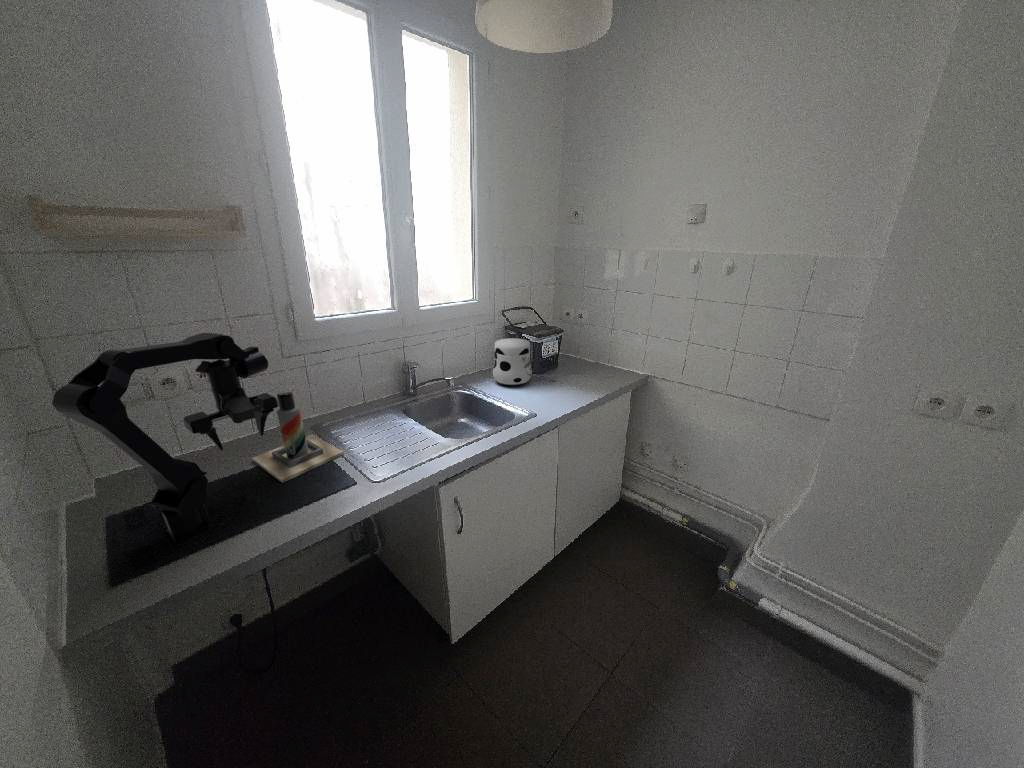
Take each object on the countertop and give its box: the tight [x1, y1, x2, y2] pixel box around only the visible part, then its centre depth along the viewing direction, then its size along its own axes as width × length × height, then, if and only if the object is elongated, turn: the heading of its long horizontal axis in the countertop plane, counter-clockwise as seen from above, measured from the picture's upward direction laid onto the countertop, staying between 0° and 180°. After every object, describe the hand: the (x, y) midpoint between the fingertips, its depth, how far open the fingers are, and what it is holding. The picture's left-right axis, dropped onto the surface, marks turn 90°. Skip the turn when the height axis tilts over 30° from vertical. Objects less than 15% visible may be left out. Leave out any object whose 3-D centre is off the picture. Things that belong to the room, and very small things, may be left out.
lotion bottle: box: [276, 391, 308, 460], centre depth 114 cm, size 6×6×20 cm
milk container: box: [492, 337, 533, 387], centre depth 174 cm, size 17×17×18 cm
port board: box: [251, 434, 345, 484], centre depth 118 cm, size 18×18×2 cm
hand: (242, 442), depth 101 cm, fingers open, 9 cm apart
